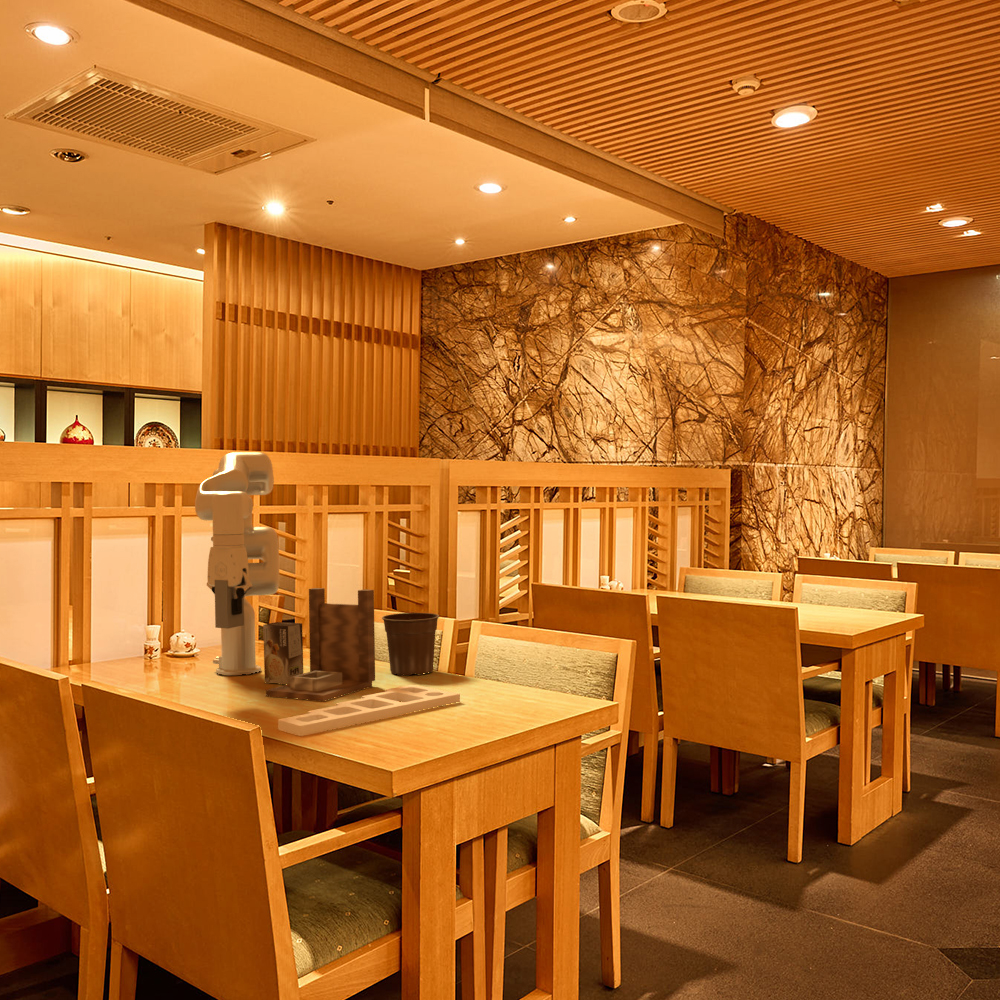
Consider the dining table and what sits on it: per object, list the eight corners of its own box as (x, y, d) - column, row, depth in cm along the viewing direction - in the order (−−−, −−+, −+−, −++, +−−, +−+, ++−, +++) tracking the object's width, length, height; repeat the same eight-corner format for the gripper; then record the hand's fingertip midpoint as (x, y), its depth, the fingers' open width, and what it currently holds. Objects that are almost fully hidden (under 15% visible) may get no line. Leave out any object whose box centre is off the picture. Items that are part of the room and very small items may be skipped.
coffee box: (305, 681, 266) (304, 622, 266) (289, 685, 261) (288, 625, 261) (278, 679, 271) (277, 621, 271) (263, 683, 265) (262, 624, 265)
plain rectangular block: (215, 627, 244) (214, 579, 244) (232, 624, 250) (231, 577, 249) (227, 628, 243) (226, 580, 242) (244, 625, 248) (243, 578, 248)
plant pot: (421, 679, 267) (420, 620, 267) (372, 675, 274) (371, 618, 274) (450, 669, 282) (449, 613, 282) (402, 666, 289) (401, 611, 289)
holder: (300, 738, 204) (300, 725, 204) (255, 725, 216) (255, 713, 216) (460, 704, 235) (460, 693, 235) (413, 695, 248) (413, 684, 248)
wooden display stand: (264, 696, 247) (262, 595, 247) (317, 681, 266) (315, 588, 267) (325, 701, 239) (323, 597, 239) (375, 686, 258) (373, 589, 258)
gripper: (192, 541, 246) (193, 614, 246) (244, 543, 239) (245, 617, 239) (213, 539, 253) (214, 610, 253) (264, 541, 245) (265, 613, 246)
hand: (229, 613), depth 246 cm, fingers closed on plain rectangular block, 4 cm apart
